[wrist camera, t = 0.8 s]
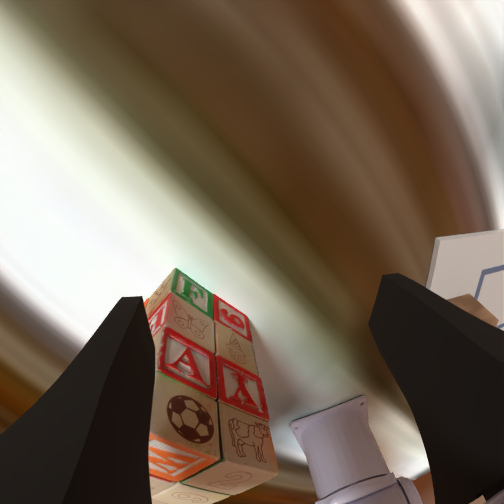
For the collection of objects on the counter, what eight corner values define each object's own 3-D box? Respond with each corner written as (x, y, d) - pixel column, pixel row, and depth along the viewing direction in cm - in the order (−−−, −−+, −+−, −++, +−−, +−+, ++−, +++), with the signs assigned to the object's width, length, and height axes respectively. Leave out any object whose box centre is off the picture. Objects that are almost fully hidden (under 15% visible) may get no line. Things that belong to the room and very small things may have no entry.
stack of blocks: (115, 434, 26) (102, 534, 15) (63, 407, 24) (35, 508, 13) (249, 313, 21) (284, 478, 10) (175, 262, 19) (146, 436, 8)
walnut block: (469, 293, 23) (498, 320, 19) (456, 331, 25) (481, 359, 21) (434, 302, 23) (464, 333, 19) (422, 342, 24) (447, 374, 20)
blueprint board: (554, 222, 23) (558, 224, 22) (518, 331, 29) (521, 334, 29) (435, 237, 21) (440, 240, 20) (397, 382, 27) (400, 386, 27)
